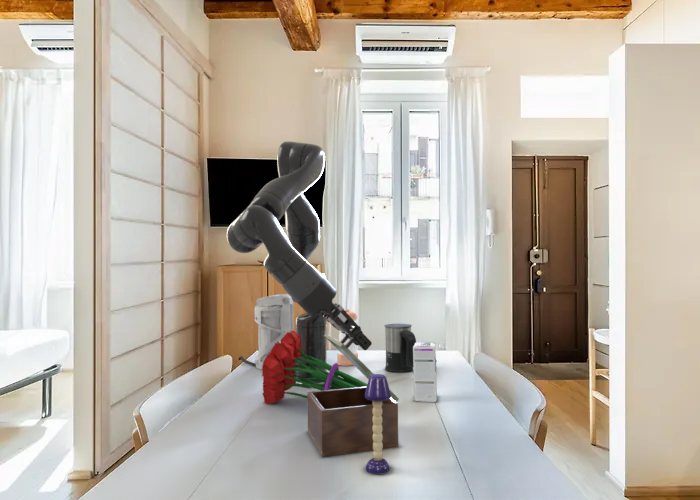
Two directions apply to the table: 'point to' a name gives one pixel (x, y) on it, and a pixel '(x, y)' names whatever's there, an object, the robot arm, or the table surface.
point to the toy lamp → (377, 421)
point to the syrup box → (424, 372)
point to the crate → (348, 421)
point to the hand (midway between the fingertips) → (364, 344)
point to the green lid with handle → (353, 356)
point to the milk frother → (399, 347)
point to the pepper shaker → (353, 348)
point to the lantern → (272, 323)
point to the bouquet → (282, 370)
